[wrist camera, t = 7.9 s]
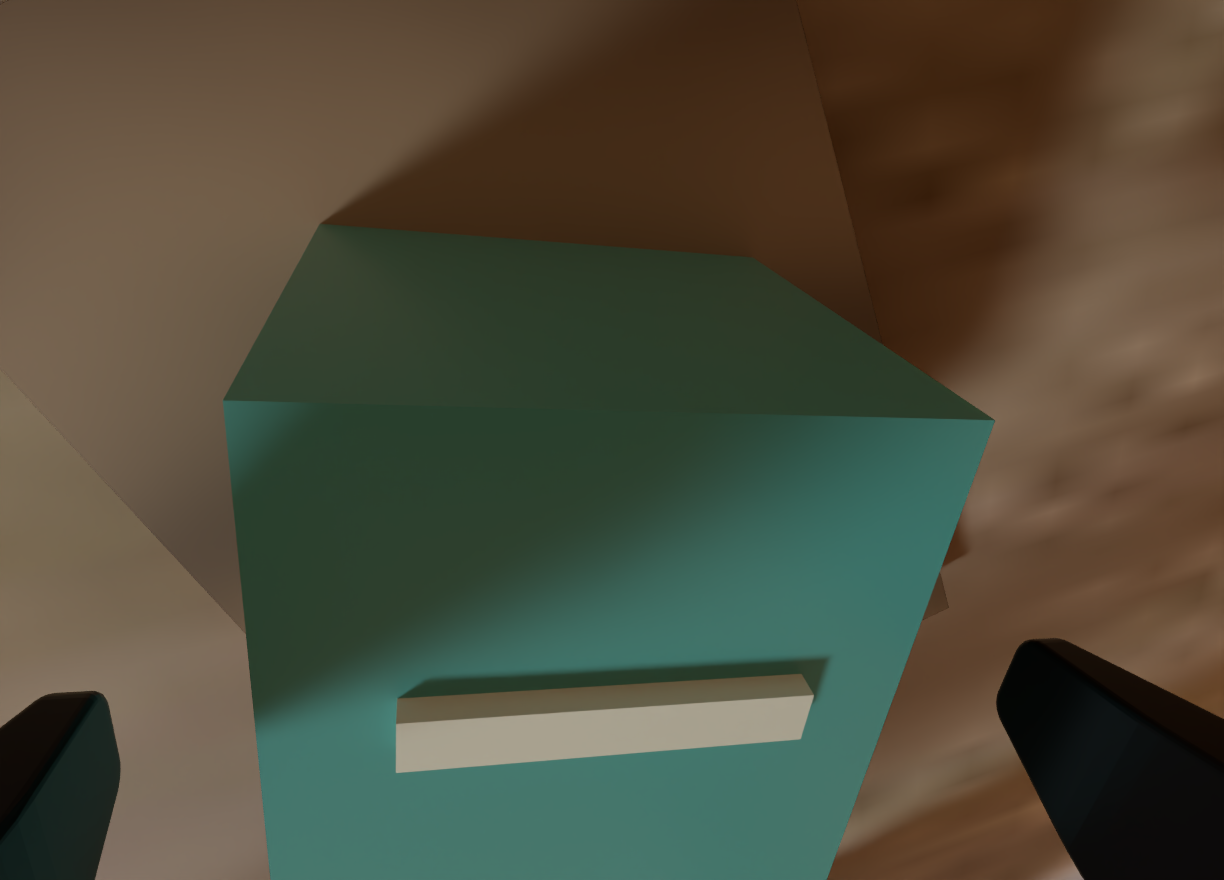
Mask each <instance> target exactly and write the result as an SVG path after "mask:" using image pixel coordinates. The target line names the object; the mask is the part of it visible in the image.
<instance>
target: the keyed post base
mask: <svg viewBox="0 0 1224 880" xmlns="http://www.w3.org/2000/svg"><path fill="white" fill-rule="evenodd" d="M319 224H329V225H342V226H355V227H367V228H380V229H393V230H406V231H419V232H432V233H445V234H458V235H470V236H483V237H496V238H509V239H522V240H535V241H548V242H561V243H574V244H586V245H599V246H612V247H625V248H638V249H651V250H664V251H677V252H689V253H702V254H715V255H728V256H741V257H753V258H754V259H756V260H757V261H759V262H760V263H762V264H763V265H765V266H766V267H768V268H769V269H771V270H772V271H774V272H775V273H777V274H778V275H780V276H781V277H783V278H784V279H786V280H787V281H789V282H790V283H791V284H793V285H794V286H796V287H797V288H799V289H800V290H802V291H803V292H805V293H806V294H808V295H809V296H811V297H812V298H814V299H815V300H817V301H818V302H820V303H821V304H823V305H824V306H826V307H827V308H829V309H830V310H832V311H833V312H835V313H836V314H838V315H839V316H841V317H842V318H844V319H845V320H847V321H848V322H850V323H851V324H852V325H854V326H855V327H857V328H858V329H860V330H861V331H863V332H864V333H866V334H867V335H869V336H870V337H872V338H873V339H875V340H876V341H878V342H879V343H881V344H882V340H881V336H880V332H879V328H878V324H877V320H876V316H875V312H874V308H873V304H872V300H871V296H870V292H869V288H868V284H867V280H866V276H865V272H864V268H863V264H862V260H861V256H860V252H859V248H858V244H857V240H856V236H855V232H854V228H853V224H852V220H851V216H850V212H849V208H848V204H847V200H846V196H845V192H844V188H843V184H842V180H841V176H840V173H839V169H838V165H837V161H836V157H835V153H834V149H833V145H832V141H831V137H830V133H829V129H828V125H827V121H826V117H825V113H824V109H823V105H822V101H821V97H820V93H819V89H818V85H817V81H816V77H815V73H814V69H813V65H812V61H811V57H810V53H809V49H808V45H807V41H806V37H805V33H804V29H803V25H802V21H801V17H800V13H799V9H798V5H797V1H796V0H8V1H6V2H4V3H2V4H0V369H1V370H2V371H3V372H4V374H5V375H6V376H7V377H8V378H9V379H10V380H11V381H12V382H13V383H14V384H15V385H16V386H17V388H18V389H19V390H20V391H21V392H22V393H23V394H24V395H25V396H26V397H27V398H28V399H29V401H30V402H31V403H32V404H33V405H34V406H35V407H36V408H37V409H38V410H39V411H40V412H41V413H42V415H43V416H44V417H45V418H46V419H47V420H48V421H49V422H50V423H51V424H52V425H53V426H54V427H55V429H56V430H57V431H58V432H59V433H60V434H61V435H62V436H63V437H64V438H65V439H66V440H67V442H68V443H69V444H70V445H71V446H72V447H73V448H74V449H75V450H76V451H77V452H78V453H79V454H80V456H81V457H82V458H83V459H84V460H85V461H86V462H87V463H88V464H89V465H90V466H91V467H92V468H93V470H94V471H95V472H96V473H97V474H98V475H99V476H100V477H101V478H102V479H103V480H104V481H105V483H106V484H107V485H108V486H109V487H110V488H111V489H112V490H113V491H114V492H115V493H116V494H117V495H118V497H119V498H120V499H121V500H122V501H123V502H124V503H125V504H126V505H127V506H128V507H129V508H130V509H131V511H132V512H133V513H134V514H135V515H136V516H137V517H138V518H139V519H140V520H141V521H142V522H143V524H144V525H145V526H146V527H147V528H148V529H149V530H150V531H151V532H152V533H153V534H154V535H155V536H156V538H157V539H158V540H159V541H160V542H161V543H162V544H163V545H164V546H165V547H166V548H167V549H168V550H169V552H170V553H171V554H172V555H173V556H174V557H175V558H176V559H177V560H178V561H179V562H180V563H181V565H182V566H183V567H184V568H185V569H186V570H187V571H188V572H189V573H190V574H191V575H192V576H193V577H194V579H195V580H196V581H197V582H198V583H199V584H200V585H201V586H202V587H203V588H204V589H205V590H206V591H207V593H208V594H209V595H210V596H211V597H212V598H213V599H214V600H215V601H216V602H217V603H218V604H219V605H220V607H221V608H222V609H223V610H224V611H225V612H226V613H227V614H228V615H229V616H230V617H231V618H232V620H233V621H234V622H235V623H236V624H237V625H238V626H239V627H240V628H241V629H242V630H243V631H244V632H245V634H246V629H245V619H244V609H243V599H242V589H241V579H240V569H239V559H238V549H237V539H236V529H235V519H234V509H233V499H232V489H231V479H230V469H229V459H228V449H227V439H226V429H225V419H224V409H223V399H224V397H225V395H226V394H227V392H228V390H229V388H230V386H231V384H232V383H233V381H234V379H235V377H236V375H237V373H238V372H239V370H240V368H241V366H242V364H243V363H244V361H245V359H246V357H247V355H248V353H249V352H250V350H251V348H252V346H253V344H254V343H255V341H256V339H257V337H258V335H259V333H260V332H261V330H262V328H263V326H264V324H265V322H266V321H267V319H268V317H269V315H270V313H271V312H272V310H273V308H274V306H275V304H276V302H277V301H278V299H279V297H280V295H281V293H282V292H283V290H284V288H285V286H286V284H287V282H288V281H289V279H290V277H291V275H292V273H293V271H294V270H295V268H296V266H297V264H298V262H299V261H300V259H301V257H302V255H303V253H304V251H305V250H306V248H307V246H308V244H309V242H310V241H311V239H312V237H313V235H314V233H315V231H316V230H317V228H318V226H319ZM882 345H883V344H882ZM947 608H949V606H948V602H947V598H946V594H945V590H944V586H943V582H942V578H941V574H940V572H939V575H938V577H937V580H936V583H935V586H934V588H933V591H932V594H931V596H930V599H929V602H928V605H927V607H926V610H925V613H924V616H923V618H922V620H924V619H926V618H928V617H930V616H932V615H934V614H936V613H939V612H941V611H943V610H945V609H947Z"/></svg>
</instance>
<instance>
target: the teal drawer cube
mask: <svg viewBox="0 0 1224 880" xmlns="http://www.w3.org/2000/svg"><path fill="white" fill-rule="evenodd" d="M223 409H224V419H225V429H226V439H227V449H228V459H229V469H230V479H231V489H232V499H233V509H234V519H235V529H236V539H237V549H238V559H239V569H240V579H241V589H242V599H243V609H244V619H245V629H246V639H247V649H248V659H249V669H250V679H251V689H252V699H253V709H254V719H255V729H256V739H257V749H258V759H259V769H260V779H261V789H262V799H263V809H264V819H265V829H266V839H267V849H268V859H269V869H270V879H271V880H827V878H828V875H829V872H830V869H831V867H832V864H833V861H834V858H835V856H836V853H837V850H838V848H839V845H840V842H841V839H842V837H843V834H844V831H845V828H846V826H847V823H848V820H849V818H850V815H851V812H852V809H853V807H854V804H855V801H856V798H857V796H858V793H859V790H860V788H861V785H862V782H863V779H864V777H865V774H866V771H867V768H868V766H869V763H870V760H871V757H872V755H873V752H874V749H875V747H876V744H877V741H878V738H879V736H880V733H881V730H882V727H883V725H884V722H885V719H886V717H887V714H888V711H889V708H890V706H891V703H892V700H893V697H894V695H895V692H896V689H897V687H898V684H899V681H900V678H901V676H902V673H903V670H904V667H905V665H906V662H907V659H908V657H909V654H910V651H911V648H912V646H913V643H914V640H915V637H916V635H917V632H918V629H919V627H920V624H921V621H922V618H923V616H924V613H925V610H926V607H927V605H928V602H929V599H930V596H931V594H932V591H933V588H934V586H935V583H936V580H937V577H938V575H939V572H940V569H941V566H942V564H943V561H944V558H945V556H946V553H947V550H948V547H949V545H950V542H951V539H952V536H953V534H954V531H955V528H956V526H957V523H958V520H959V517H960V515H961V512H962V509H963V506H964V504H965V501H966V498H967V496H968V493H969V490H970V487H971V485H972V482H973V479H974V476H975V474H976V471H977V468H978V466H979V463H980V460H981V457H982V455H983V452H984V449H985V446H986V444H987V441H988V438H989V435H990V433H991V430H992V427H993V425H994V422H995V420H994V419H992V418H991V417H989V416H988V415H986V414H985V413H983V412H982V411H980V410H979V409H977V408H976V407H975V406H973V405H972V404H970V403H969V402H967V401H966V400H964V399H963V398H961V397H960V396H958V395H957V394H955V393H954V392H952V391H951V390H949V389H948V388H946V387H945V386H943V385H942V384H940V383H939V382H937V381H936V380H934V379H933V378H931V377H930V376H928V375H927V374H925V373H924V372H922V371H921V370H919V369H918V368H916V367H915V366H913V365H912V364H911V363H909V362H908V361H906V360H905V359H903V358H902V357H900V356H899V355H897V354H896V353H894V352H893V351H891V350H890V349H888V348H887V347H885V346H884V345H882V344H881V343H879V342H878V341H876V340H875V339H873V338H872V337H870V336H869V335H867V334H866V333H864V332H863V331H861V330H860V329H858V328H857V327H855V326H854V325H852V324H851V323H850V322H848V321H847V320H845V319H844V318H842V317H841V316H839V315H838V314H836V313H835V312H833V311H832V310H830V309H829V308H827V307H826V306H824V305H823V304H821V303H820V302H818V301H817V300H815V299H814V298H812V297H811V296H809V295H808V294H806V293H805V292H803V291H802V290H800V289H799V288H797V287H796V286H794V285H793V284H791V283H790V282H789V281H787V280H786V279H784V278H783V277H781V276H780V275H778V274H777V273H775V272H774V271H772V270H771V269H769V268H768V267H766V266H765V265H763V264H762V263H760V262H759V261H757V260H756V259H754V258H753V257H741V256H728V255H715V254H702V253H689V252H677V251H664V250H651V249H638V248H625V247H612V246H599V245H586V244H574V243H561V242H548V241H535V240H522V239H509V238H496V237H483V236H470V235H458V234H445V233H432V232H419V231H406V230H393V229H380V228H367V227H355V226H342V225H329V224H319V226H318V228H317V230H316V231H315V233H314V235H313V237H312V239H311V241H310V242H309V244H308V246H307V248H306V250H305V251H304V253H303V255H302V257H301V259H300V261H299V262H298V264H297V266H296V268H295V270H294V271H293V273H292V275H291V277H290V279H289V281H288V282H287V284H286V286H285V288H284V290H283V292H282V293H281V295H280V297H279V299H278V301H277V302H276V304H275V306H274V308H273V310H272V312H271V313H270V315H269V317H268V319H267V321H266V322H265V324H264V326H263V328H262V330H261V332H260V333H259V335H258V337H257V339H256V341H255V343H254V344H253V346H252V348H251V350H250V352H249V353H248V355H247V357H246V359H245V361H244V363H243V364H242V366H241V368H240V370H239V372H238V373H237V375H236V377H235V379H234V381H233V383H232V384H231V386H230V388H229V390H228V392H227V394H226V395H225V397H224V399H223Z"/></svg>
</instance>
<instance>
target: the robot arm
mask: <svg viewBox="0 0 1224 880" xmlns="http://www.w3.org/2000/svg"><path fill="white" fill-rule="evenodd" d="M996 706H997V712H998V715H999V718H1000V720H1001V722H1002V724H1003V726H1004V728H1005V730H1006V732H1007V734H1008V736H1009V738H1010V740H1011V742H1012V744H1013V746H1014V748H1015V750H1016V752H1017V754H1018V756H1019V758H1020V760H1021V762H1022V764H1023V766H1024V768H1025V770H1026V772H1027V774H1028V776H1029V778H1030V780H1031V782H1032V784H1033V786H1034V788H1035V790H1036V792H1037V794H1038V796H1039V798H1040V800H1041V802H1042V804H1043V806H1044V808H1045V810H1046V812H1047V814H1048V816H1049V818H1050V820H1051V822H1052V824H1053V826H1054V828H1055V829H1056V831H1057V833H1058V835H1059V837H1060V839H1061V841H1062V843H1063V845H1064V846H1065V848H1066V850H1067V852H1068V854H1069V855H1070V857H1071V859H1072V861H1073V862H1074V864H1075V866H1076V867H1077V869H1078V871H1079V873H1080V874H1081V876H1082V878H1083V879H1084V880H1224V719H1222V718H1220V717H1218V716H1216V715H1214V714H1212V713H1210V712H1208V711H1206V710H1204V709H1202V708H1200V707H1198V706H1196V705H1194V704H1192V703H1190V702H1188V701H1186V700H1184V699H1182V698H1180V697H1178V696H1176V695H1174V694H1172V693H1170V692H1168V691H1166V690H1164V689H1162V688H1160V687H1158V686H1156V685H1154V684H1152V683H1150V682H1148V681H1146V680H1144V679H1142V678H1140V677H1138V676H1136V675H1134V674H1132V673H1130V672H1128V671H1126V670H1124V669H1122V668H1120V667H1118V666H1116V665H1114V664H1112V663H1110V662H1108V661H1106V660H1104V659H1102V658H1100V657H1098V656H1096V655H1094V654H1092V653H1090V652H1088V651H1086V650H1084V649H1082V648H1080V647H1078V646H1076V645H1074V644H1072V643H1070V642H1068V641H1065V640H1062V639H1057V638H1048V639H1031V640H1027V641H1024V642H1023V643H1022V644H1021V645H1020V646H1019V647H1018V649H1017V650H1016V652H1015V655H1014V657H1013V659H1012V661H1011V664H1010V666H1009V668H1008V670H1007V673H1006V675H1005V677H1004V679H1003V682H1002V684H1001V686H1000V689H999V691H998V694H997V699H996ZM119 781H120V758H119V753H118V748H117V743H116V739H115V734H114V729H113V724H112V719H111V715H110V710H109V705H108V702H107V700H106V698H105V697H104V695H103V694H101V693H99V692H96V691H83V692H65V693H52V694H48V695H45V696H43V697H41V698H39V699H37V700H36V701H34V702H33V703H32V704H30V705H29V706H28V707H27V708H25V709H24V710H23V711H21V712H20V713H19V714H17V715H16V716H15V717H14V718H12V719H11V720H10V721H8V722H7V723H6V724H4V725H3V726H2V727H0V880H95V877H96V873H97V869H98V865H99V861H100V858H101V854H102V850H103V846H104V842H105V838H106V835H107V831H108V827H109V823H110V819H111V815H112V812H113V808H114V804H115V800H116V796H117V792H118V788H119Z"/></svg>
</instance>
